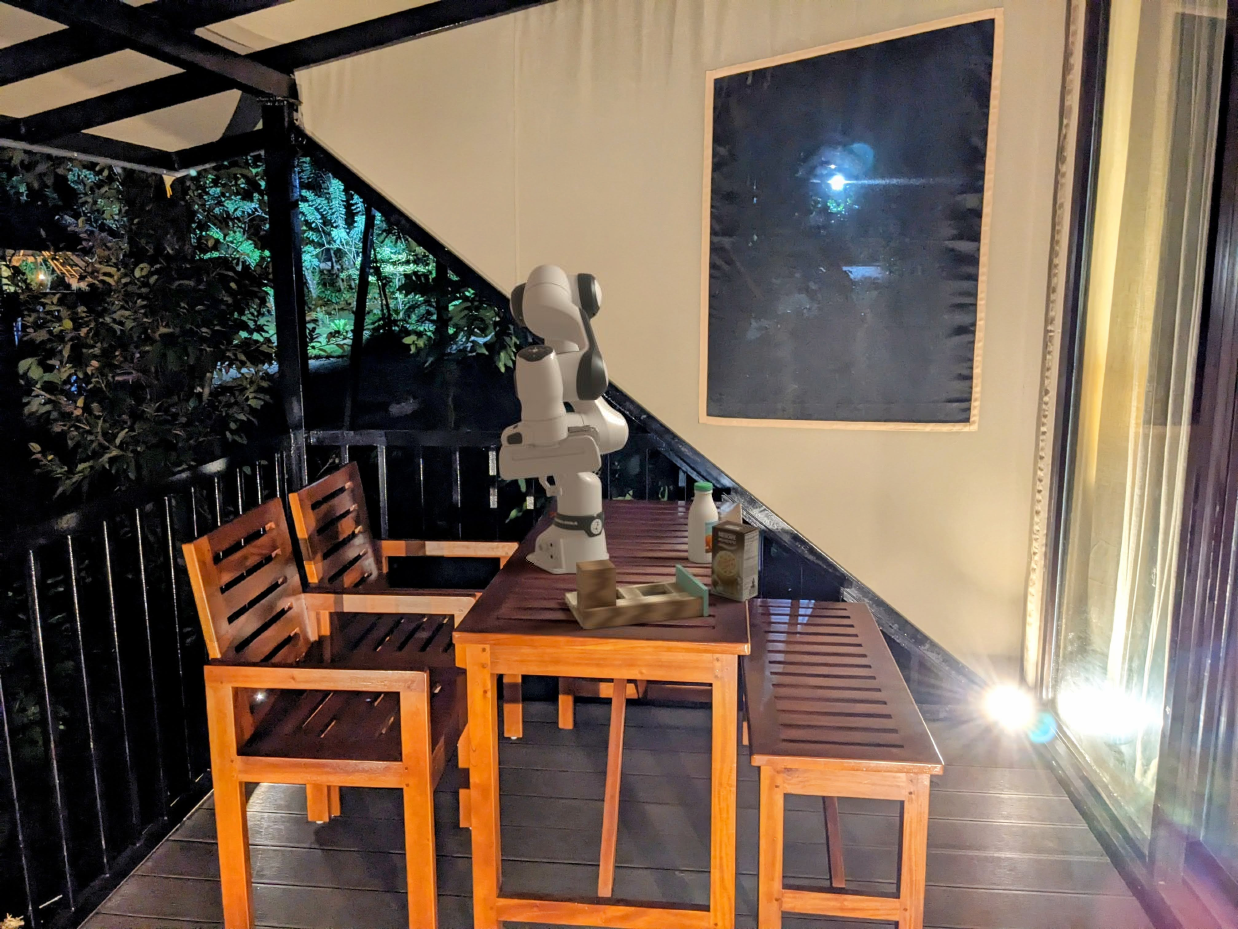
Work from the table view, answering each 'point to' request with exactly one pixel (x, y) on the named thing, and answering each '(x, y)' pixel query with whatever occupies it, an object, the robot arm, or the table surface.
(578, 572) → the walnut block
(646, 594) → the board
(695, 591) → the end stop
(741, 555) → the coffee box
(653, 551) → the table surface
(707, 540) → the milk bottle
